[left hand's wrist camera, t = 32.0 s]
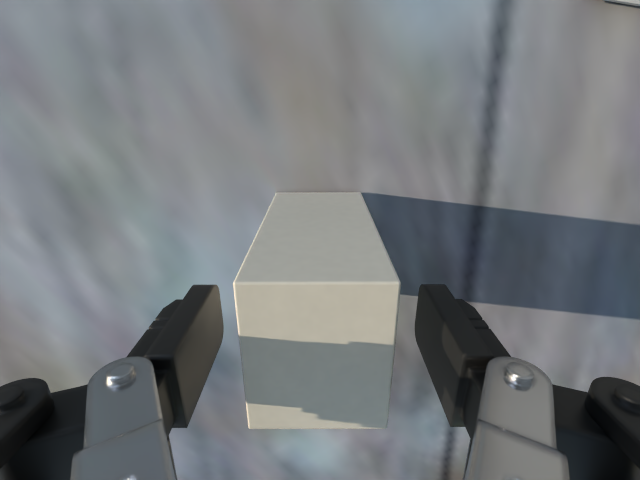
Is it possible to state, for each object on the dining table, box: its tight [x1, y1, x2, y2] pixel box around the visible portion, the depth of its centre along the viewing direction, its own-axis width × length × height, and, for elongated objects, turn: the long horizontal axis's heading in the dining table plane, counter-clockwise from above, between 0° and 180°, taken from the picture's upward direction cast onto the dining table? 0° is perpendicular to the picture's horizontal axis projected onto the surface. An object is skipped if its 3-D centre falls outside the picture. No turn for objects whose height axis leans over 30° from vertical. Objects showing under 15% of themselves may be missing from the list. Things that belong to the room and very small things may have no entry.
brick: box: [233, 192, 401, 429], centre depth 13 cm, size 4×5×9 cm
